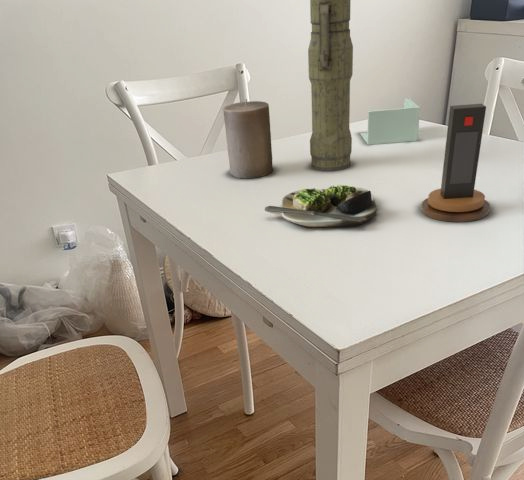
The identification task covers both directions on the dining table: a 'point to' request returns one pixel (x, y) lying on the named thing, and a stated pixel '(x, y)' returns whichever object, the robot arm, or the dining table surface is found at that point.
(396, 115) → the right angle wall
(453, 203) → the slab on wooden base
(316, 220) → the salad plate
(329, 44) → the thermos
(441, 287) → the dining table surface
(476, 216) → the swivel stand
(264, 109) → the pillar candle
